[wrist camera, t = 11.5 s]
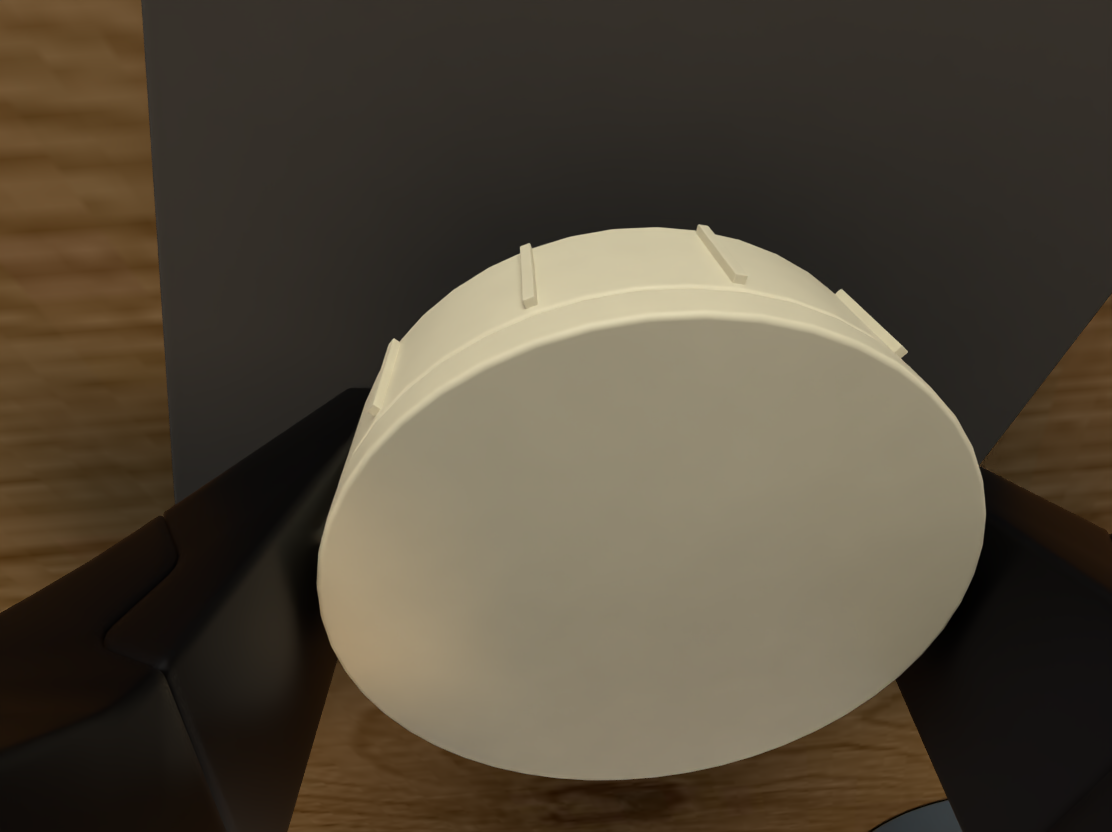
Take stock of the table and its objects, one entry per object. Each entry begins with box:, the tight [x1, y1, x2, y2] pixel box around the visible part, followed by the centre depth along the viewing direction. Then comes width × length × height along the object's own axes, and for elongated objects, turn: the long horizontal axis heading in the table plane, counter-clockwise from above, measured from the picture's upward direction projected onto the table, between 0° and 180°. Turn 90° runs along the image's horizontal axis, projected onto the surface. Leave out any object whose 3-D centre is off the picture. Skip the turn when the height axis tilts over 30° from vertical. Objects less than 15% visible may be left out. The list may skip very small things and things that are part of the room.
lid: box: [316, 224, 986, 780], centre depth 7 cm, size 6×6×2 cm
